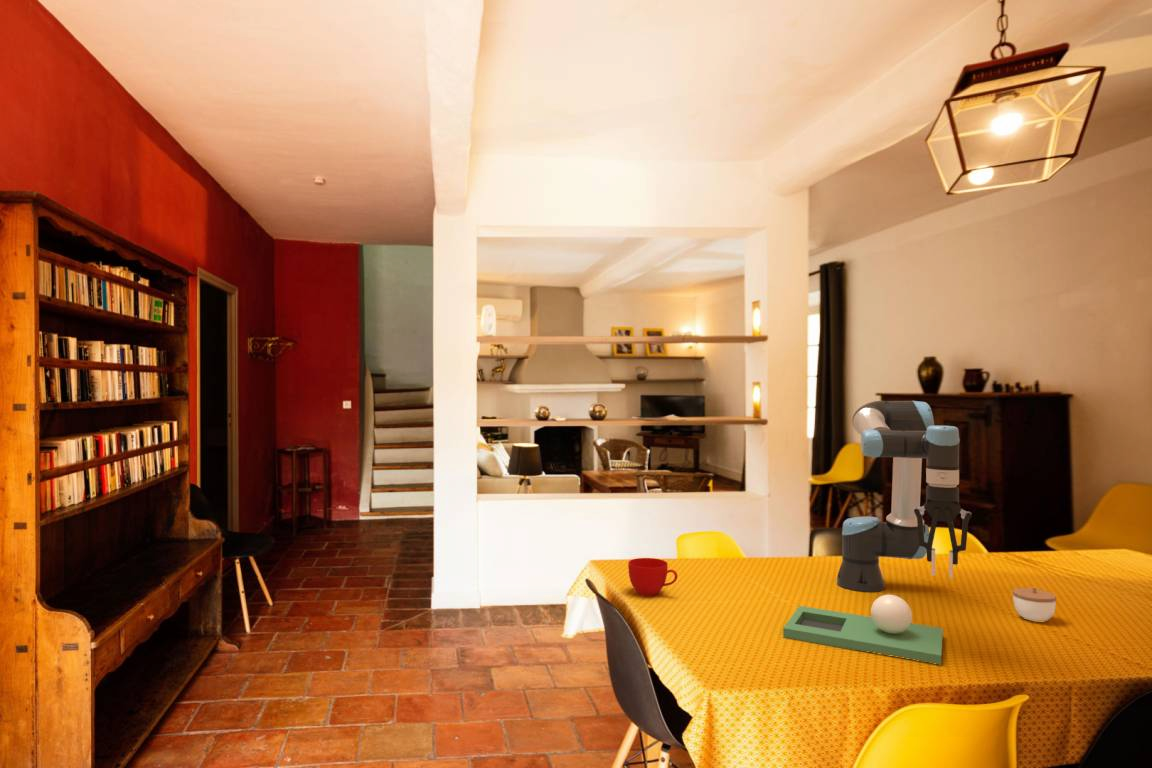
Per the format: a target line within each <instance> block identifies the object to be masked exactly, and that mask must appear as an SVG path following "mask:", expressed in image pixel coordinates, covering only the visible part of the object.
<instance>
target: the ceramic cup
mask: <svg viewBox="0 0 1152 768" xmlns="http://www.w3.org/2000/svg"><path fill="white" fill-rule="evenodd" d="M627 564H628V565H627V566H628V567H627V568H628V577H629V581H630V583H631V585H632V587H633V589H634V590H635V591H636V592H637V594H638V595H640V596H643V597H644V596H646V597H651V596H656V595H658V594H659V593H660V592H661V590H662V589H663V588H664V587H667V586H671V585H673V584H674V583H676V581H677V580H678V573H677V571H676V570H674V569H668V568H669V567H668V565H669V564H668V561H666V560H664V559H660V558H654V557H652V558H651V557H640V558H633V559H630V560H629V561H628V563H627ZM669 573H673V575H674V579H673V580H671V581H670V582H667V583H666V581H667V576H668V574H669Z"/></svg>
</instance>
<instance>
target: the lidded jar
mask: <svg viewBox="0 0 1152 768" xmlns="http://www.w3.org/2000/svg"><path fill="white" fill-rule="evenodd" d="M1012 598H1013V599H1012V601H1013V605H1014V609H1015V610H1016V612H1017V614H1018V615H1019V616H1021V618H1022V617H1023V618H1025V619H1028V620H1033V621H1047V622H1048V621H1049V620H1050V619H1051V618H1052V617H1053V616H1054V614H1055V611H1056V603H1057V602H1056V601H1057V595H1055V594H1054V593H1052V592H1049V591H1046V590H1041V589H1038V588H1037V587H1034V586H1033V587H1031V588H1030V587H1028V588H1027V587H1020V588H1019V587H1017V588H1013V590H1012ZM1023 618H1022V619H1023Z"/></svg>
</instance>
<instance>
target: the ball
mask: <svg viewBox="0 0 1152 768" xmlns="http://www.w3.org/2000/svg"><path fill="white" fill-rule="evenodd" d="M870 615H871V616H870V617H872V619H873V621H874V623H875V624H876V626H877V627H878V628H880V629H881V630H882V631H884V632H886V633H890V634H898V633H902V632H904V631H905V630H906V629H908V627H909V626H910V624H911V623H912V620H913V612H912V610H911V607H910V606H909V604H908V603H907V601H905V600H904V599H903V598H902V597H900V596H898V595H895V594H884V595H880V596H878V597H877V598H876V599H875V600H874V602H873V603H872V604H871V608H870Z"/></svg>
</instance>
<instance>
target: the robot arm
mask: <svg viewBox="0 0 1152 768" xmlns="http://www.w3.org/2000/svg"><path fill="white" fill-rule="evenodd" d="M933 414H934V413H933V412H932V408H931V406H930V405H929V404H928V403H927V402H925V401H917V400H875V401H871V402H868V403H866V404H863V405H862V406H860V407H858V409H856V410H855V412H854V414H853V415H852V426H853V428H854V430H855V432H856V433H858V434H859V435H860V450H861V454H862V455H863V456H864V457H871V458H872V457H873V458H892V459H893V460H892V461H893V462H892V483H891V485H892V487H891V488H892V489H891V509H890V510H891V511H890V513H889V514H888V515H886V517H885V519H886V520H885V521H886V522H885V521H883V522H881V521H880V519H879V517H875V516H854V517H850V518H846V519H845V520H844V521H843V523H842V532H841V535H842V559H841V560H842V561H841V564H840V567H839V570H838V573H837V576H836V584H837V585H838V586H839V587H841V588H845V589H847V590H852V591H855V592H856V591H858V592H869V593H870V592H873V593H875V592H880V591H883V590H884V589H885V580H884V577H883V574H882V570H881V568H880V565H879V562H880V557H881V558H892V559H893V558H895V559H905V560H921V559H923V558H925V557H926V561H927V562H928V563H929V562H930V563H931V576H933V577H934V576H935V577H936V548H935V547H934V548H933V544H934V539H935V534H936V530H937V524H938V522H946V523H947V524H946V525H947V527H948V533H949V538H950V544H951V550H950V549H949V553H948V554H949V555H948V556H949V558H948V559H949V561H948V562H949V564H948V565H949V569H948V571H949V574H948V575H949V578H950V579H953V577H954V575H953V574H954V573H953V572H954V571H953V569H954V567H953V566H954V565H955V566H956V565H958V564H959V553H960V552H962V551H963V552H965V551H966V550H967V541H968V531H969V529H968V528H969V522H970V520H971V518H972V512H971V511H966V510H964V509H963V508H962V507H961V505H960V488H959V487H958V485H959V484H960V441H961V439H960V432H959V428H958V427H957V426H953V425H952V426H951V425H935V420H934V415H933ZM923 459H926V468H925V475H926V478H925V482H926V484H927V485H926V486H925V487H926V488H925V493H926V494H925V495H926V496H925V503H924V504H923V505H922V506H921V488H922V487H921V486H922V465H923V464H922V462H923ZM925 511H926V513H927V514H928V515H929V517H930V518H931V524H930V528H929V526H928V525H927V524H925V520H924V517H923V516H924V514H925ZM959 514H961V515H960V518H961V519H962V525H961V535H960V538H961V539H960V544H959V545H958V542H957V536H956V532H955V527H954V526H955V525H954V519H955V518H956V517H958V515H959Z"/></svg>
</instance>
